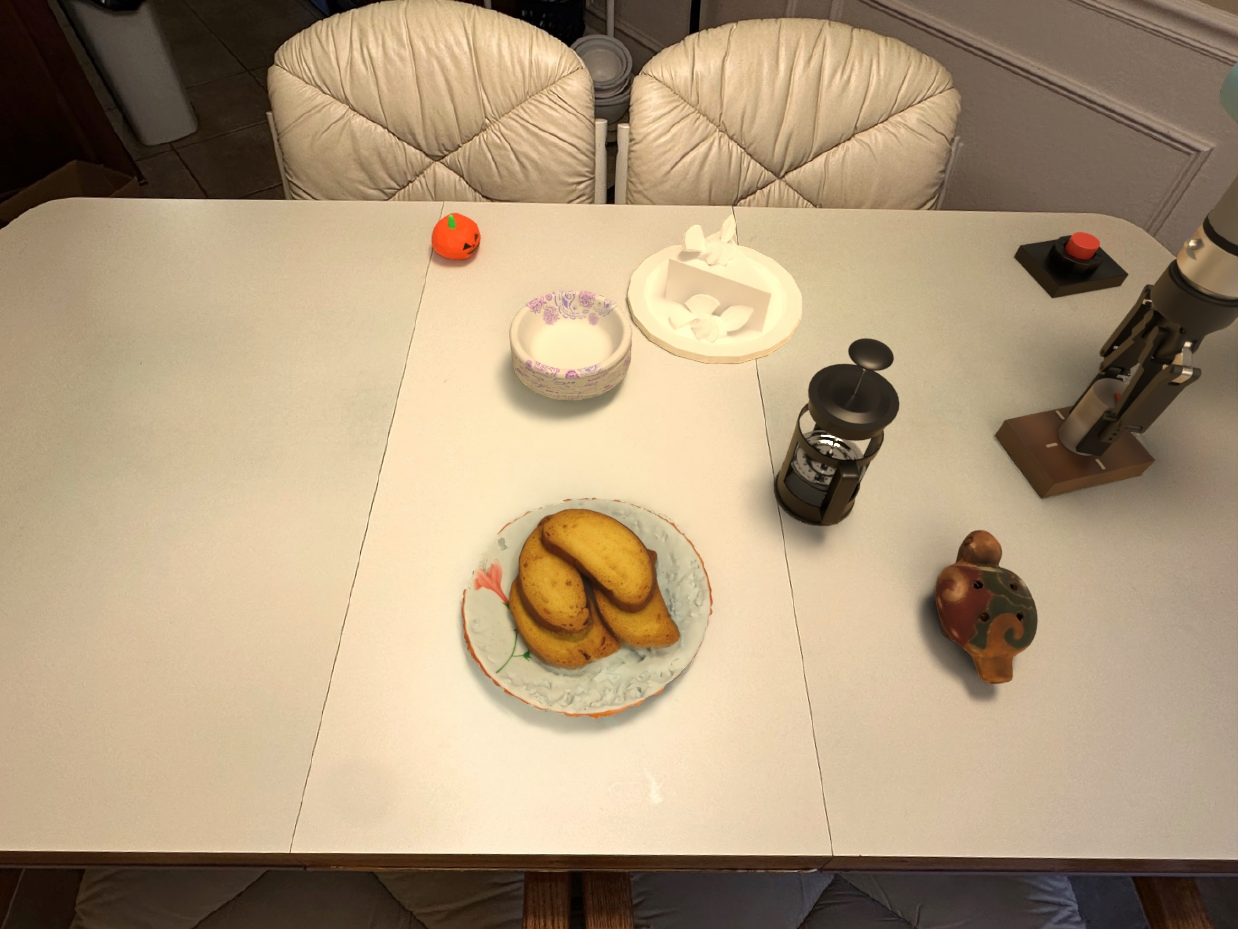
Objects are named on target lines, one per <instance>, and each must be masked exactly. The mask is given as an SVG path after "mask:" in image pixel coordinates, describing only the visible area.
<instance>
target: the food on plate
mask: <svg viewBox="0 0 1238 929" xmlns="http://www.w3.org/2000/svg"><path fill="white" fill-rule="evenodd" d="M500 538H501V539H504V546H506V547H507V548H506V549H501V548H500V546H499V543H498V542H499V540H500ZM481 555H482V557H481V560H480V561H479V563H478V565H477V567H476V569H475V570H472V579H471V581H470V582H469V586H468V589H466V588H465V589H464V590H463V591H462V596H463V597H462V604H461V605H462V606H461V616H462V619H463V621H462V628H463V629H462V630H463V638H464V639H465V643H466V644H467V645H466V646H467V651H469V653H470V655H471V657H472V659H473V660H474V661H475V662H476V663H477V665H478V666H479V667H480V669H481V671H482V672H483V673H484V675H485V676H486V677H487V678H489V679H491V681H492V682H493V684H495V686H497V687H500V688H502V689H503V692H504V693H505V694H507V695H509V696H511V697H514V698H516V699H518V700H519V701H521V702H522V703H524V704H526V705H530V706H533V707H534V708H536V709H538V710H542V711H544V712H545V713H548V712H549V711H552V712H555V713H558V714H563V715H565V716H566V717H573V718H577V717H582V716H587V717H591V718H593V719H595V720H598V719H599V718H600V717H601V718H602V717H609V716H613V715H616V714H619V713H622V712H623V711H625V710H627V709H628V708H630V707H632V706H637V707H639V706H640V705H641V704H642V703H644V702H645V701H646V699H647V698H650V697H653V696H655V695H658V694H661V693H663V691H664V688H665V687H666V685H667V684H669V683H670V682H672V681H673V680H675V679H676V678H678V677H679V676H680V675H681V673H682V671H683V670H684V669H685V668H686V667H688V666H690V664H691V663H692V662H693V659H694V658H695V657H696V655H697V652H698V650H699V649H700V647H702V646H701V645H702V643H703V639H704V637H705V633H706V630H707V627H708V626H709V622H710V616H711V615H713V609H712V606H713V605H714V604H713V603H714V600H713V595H712V590H713V589H712V587H711V582H710V579H709V575H708V572H707V570H706V568H705V563H704V561H703V559H702V557H701V555H700V553H699V552H698V551H697V550H696V547H695V545H694V544H693V542H692V541H691V539H689V538H688V537H687V536H686V534H685V533H684V532H683V533H682V531H680V530H679V528H678V527H677V526H676V524H675V523H674V522H671V521H669V520H668V519H667V518H664V517H663V516H661V515H659V514H656V513H654V512H652V511H651V510H649V509H647V508H642V507H641V506H638V505H635V504H632V503H627V502H626V501H621V500H619V499H614V500H613V499H612V500H605V499H601V498H596V497H592V498H591V499H590V498H588V497H585V498H578V499H572V498H566V499H563V500H562V502H559V503H555V504H548V505H545V506H544V507H539V508H537V509H536V510H530V511H527V512H525V513H524V514H523V515H521V516H519V517H517V518H515V519H514V520H513V521H510V522H508V523H506V524H505V525H504V526H503V527H502V528H501V529H500V530H499V532H498V533H497V535H496V537H495V538H494V539H493V540H492V541H491V542H490V543H489V547H488V549H487V550H486V549H485V551H484V552H483V553H482V554H481Z"/></svg>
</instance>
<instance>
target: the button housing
mask: <svg viewBox="0 0 1238 929" xmlns="http://www.w3.org/2000/svg"><path fill="white" fill-rule="evenodd" d="M1072 235H1073V234H1069V235H1062V236H1060V237H1059V238H1055V239H1050V240H1044V241H1043V240H1042V241H1038V242H1031V243H1026V244H1025V243H1024V244H1020V245H1019V247H1018V248H1017V250H1016V252H1015V254H1014V256H1013V258H1014V259H1015V260H1016V261H1017V262H1018V263H1019V264H1020V265H1021V266H1022V267H1023V269H1024V270H1025V271H1027V273H1028V274H1029V275H1030V276H1031V277H1032V278H1033V280H1035V281H1036V283H1037V284H1038V285H1039V286H1040V287H1041V288H1042V289H1043V291H1045V293H1046V294H1048V296H1049V297H1050V298H1051V299H1055V298H1062V297H1067V296H1072V295H1079V294H1084V293H1089V292H1095V291H1100V290H1105V289H1110V288H1111V289H1112V288H1116V287H1117V288H1118V287H1121V286H1122V285H1123V284H1124V282H1125V281H1126V279H1127V278H1128V277H1129V275H1130V274H1129V273H1128V272H1127V271H1126V270H1125V269H1124V268H1123V267H1122V266H1121V265H1119V264H1118V263H1117V261H1116V260H1114V259H1113V258H1112V257H1111V256H1110V255H1109V254H1108V253H1107V252H1106V251H1105V250H1104V249H1103V248H1102V246H1101V245H1100V246H1099V247H1098V249H1097V251H1096V252H1095V254H1094V255H1093V257H1092V258H1091V259H1087V260H1085V259H1079V258H1076V257H1074V256H1072V255H1070V254H1068V253H1067V252H1066V251H1065V246H1066V244H1067V242H1068V241H1069V239H1070V238H1071V236H1072Z"/></svg>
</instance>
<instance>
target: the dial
mask: <svg viewBox="0 0 1238 929" xmlns="http://www.w3.org/2000/svg"><path fill="white" fill-rule="evenodd" d="M1128 384H1129V383H1126V382H1125V381H1124V382H1122V381H1120V380H1116V379H1111V378H1104V379H1100V380H1098V381H1096V382H1095V383H1094V384H1093V386H1092V387H1091V388H1090V390H1089V391H1088V392H1087V393H1086V395H1085V396H1084V397H1083V399H1082V400H1081V401H1080V402H1079V404H1078V405H1077V406H1076V408H1075V409H1074V410H1073V411H1072V413H1071V414H1070V415H1069V416H1068V418H1067V419H1066V420H1065V422H1064V423H1063V424H1062V425H1061V427H1060V428H1059V430H1058V437H1059V440H1060V441H1061V443H1062V444H1063V445H1064V446H1065V447H1066V448H1067V449H1069V450H1070V451H1072V452H1074V453H1077V454H1080V455H1086V456H1089V455H1090V454H1085V453H1079V452H1076V446H1077V445H1078V444H1079V442H1080V441H1081V440H1082V439H1083V438H1084V436H1085V435H1086V434H1087V433H1088V432H1089V430H1090V429H1091V428H1092V427H1093V426H1094V424H1095V423H1096V422H1097V421H1098V420H1099V418H1100V417H1101V416H1102V415H1103V412H1104V411H1112V410H1113V409H1114V407H1115V405H1116V404H1117V402H1118V400H1119V399H1120V397H1121V396H1122V394H1123V392H1124V391H1125V389H1126V387H1127V386H1128Z"/></svg>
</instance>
